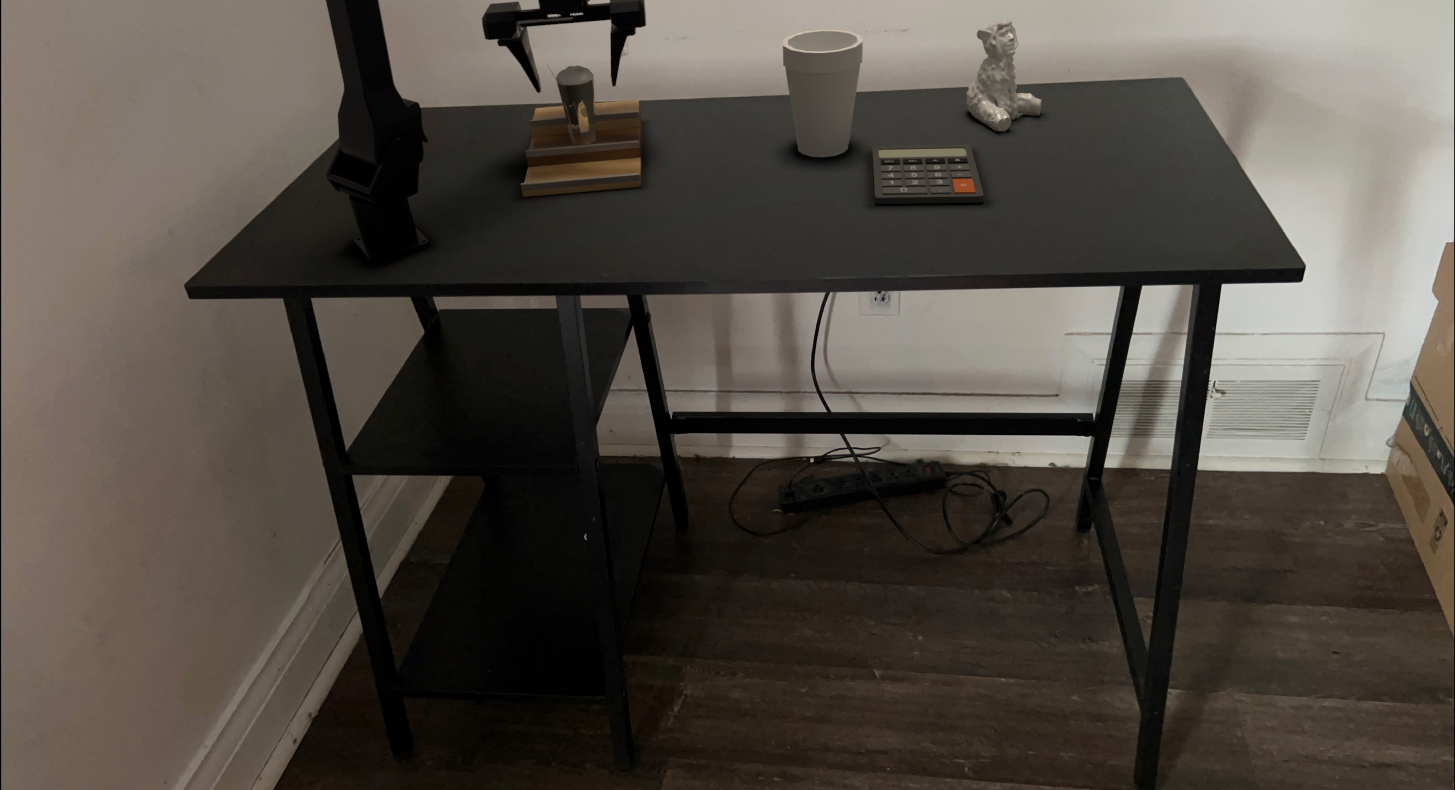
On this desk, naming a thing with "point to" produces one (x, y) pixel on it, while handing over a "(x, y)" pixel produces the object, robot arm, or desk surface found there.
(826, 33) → the foam cup
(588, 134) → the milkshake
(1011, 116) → the seated beast figurine
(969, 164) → the calculator
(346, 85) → the robot arm
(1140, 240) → the desk surface
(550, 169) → the rack
